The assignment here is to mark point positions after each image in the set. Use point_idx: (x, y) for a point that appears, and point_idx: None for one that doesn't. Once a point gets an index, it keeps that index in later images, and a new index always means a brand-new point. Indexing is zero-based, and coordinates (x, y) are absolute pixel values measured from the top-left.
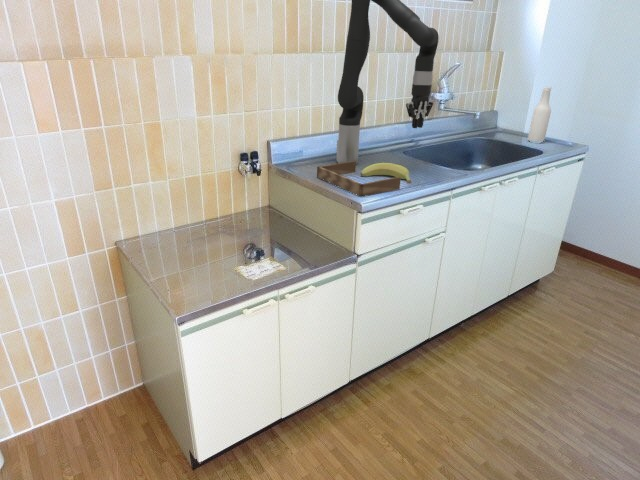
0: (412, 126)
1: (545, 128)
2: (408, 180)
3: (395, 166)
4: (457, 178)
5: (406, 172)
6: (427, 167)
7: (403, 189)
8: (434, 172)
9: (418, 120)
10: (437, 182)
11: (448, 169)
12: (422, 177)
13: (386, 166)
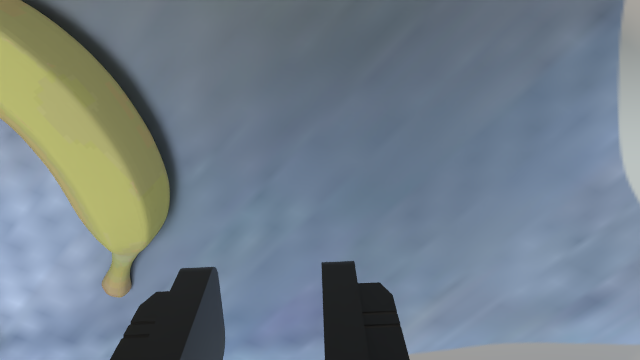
0: (155, 304)
1: None
2: (104, 289)
3: (59, 173)
4: (471, 334)
5: (115, 253)
6: (525, 46)
7: (13, 350)
8: (455, 176)
9: (325, 343)
10: (294, 339)
11: (613, 163)
12: (284, 228)
13: (2, 116)
